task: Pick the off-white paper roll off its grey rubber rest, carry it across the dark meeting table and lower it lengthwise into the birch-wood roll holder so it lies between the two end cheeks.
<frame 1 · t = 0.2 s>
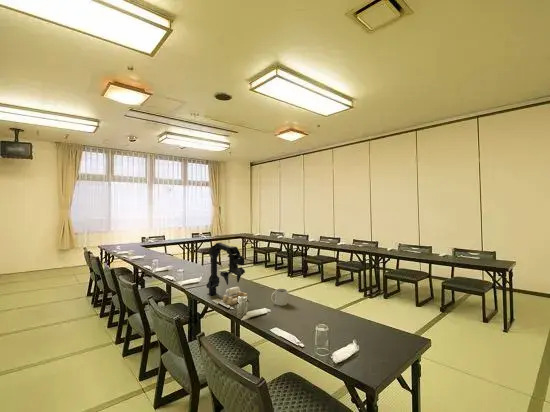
hand: (232, 283, 210), 14 cm above the table, fingers open, 9 cm apart
holder: (235, 300, 213), on the table
mug: (279, 303, 207), on the table
roll: (233, 291, 225), point 4 cm above the table, touching rest
rest: (233, 295, 225), on the table
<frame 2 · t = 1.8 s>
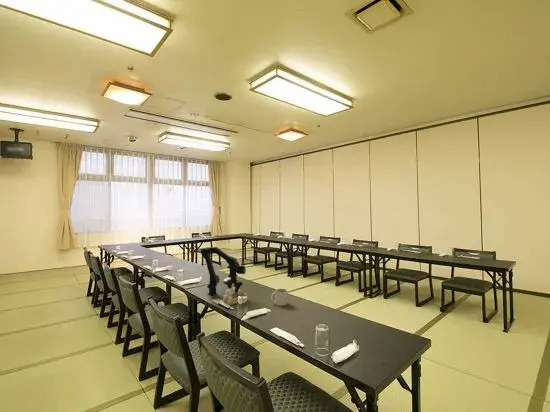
hand: (233, 292, 225), 3 cm above the table, fingers open, 8 cm apart
nothing on the table moved.
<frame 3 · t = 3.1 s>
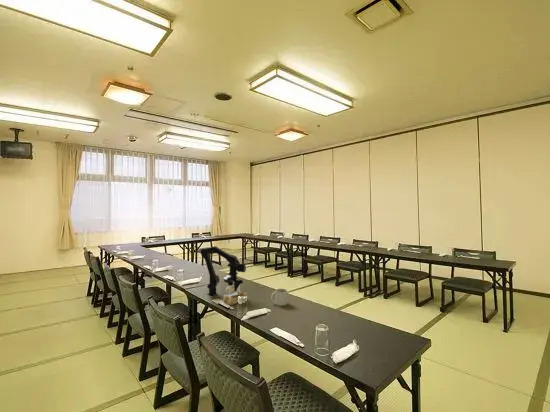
hand: (233, 290, 225), 4 cm above the table, fingers closed on roll, 6 cm apart
roll: (233, 288, 225), point 6 cm above the table, touching gripper
everything else where it was.
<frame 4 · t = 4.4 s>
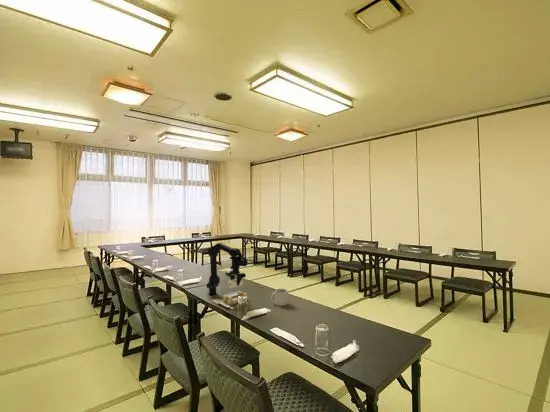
hand: (235, 285, 213), 12 cm above the table, fingers closed on roll, 6 cm apart
roll: (235, 282, 213), point 14 cm above the table, touching gripper
everything else where it was.
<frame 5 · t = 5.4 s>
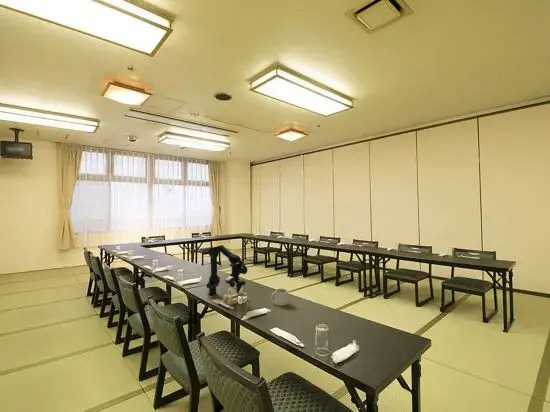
hand: (235, 292, 213), 7 cm above the table, fingers closed on roll, 6 cm apart
roll: (235, 290, 213), point 8 cm above the table, touching gripper
everything else where it was.
when the fingers open (4 cm above the table, at t = 6.4 s): roll drops 2 cm, resting on holder.
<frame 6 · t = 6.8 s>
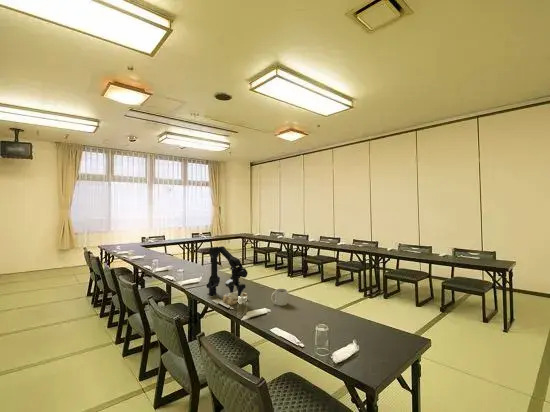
hand: (235, 295, 213), 4 cm above the table, fingers open, 9 cm apart
roll: (235, 295, 213), point 4 cm above the table, touching holder
everything else where it was.
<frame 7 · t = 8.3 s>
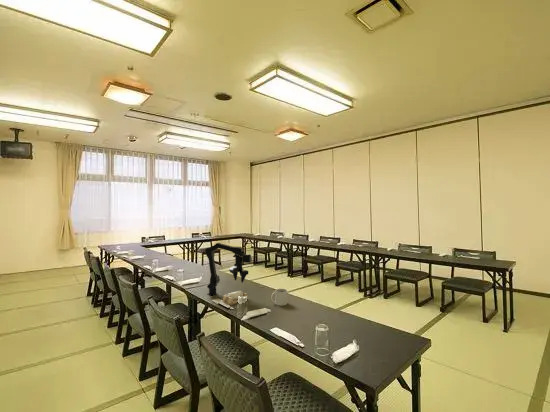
hand: (238, 281, 224), 12 cm above the table, fingers open, 9 cm apart
nothing on the table moved.
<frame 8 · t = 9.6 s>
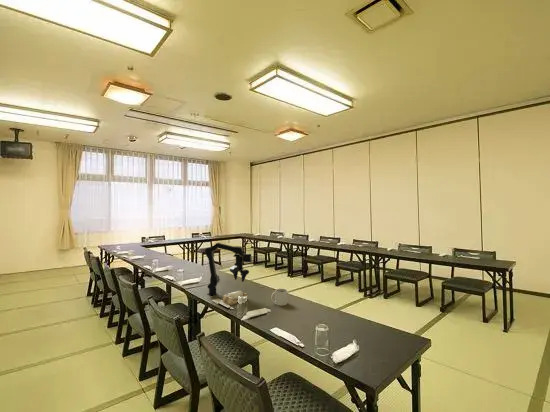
hand: (239, 280, 226), 12 cm above the table, fingers open, 9 cm apart
nothing on the table moved.
at the end: roll inside the target area on the holder (0.1 cm from its centre), point 3.8 cm above the holder's base; the gripper is holding nothing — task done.
